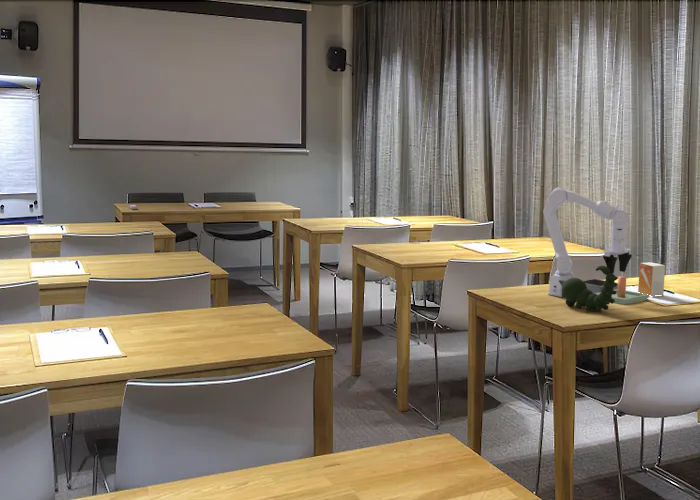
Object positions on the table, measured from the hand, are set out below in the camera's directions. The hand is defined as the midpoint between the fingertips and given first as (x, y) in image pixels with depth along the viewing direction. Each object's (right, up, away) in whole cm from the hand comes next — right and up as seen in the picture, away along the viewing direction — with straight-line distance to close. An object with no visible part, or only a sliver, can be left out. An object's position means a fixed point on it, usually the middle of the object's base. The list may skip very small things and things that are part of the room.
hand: (616, 272), depth 294 cm
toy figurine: (-19, -14, -18) cm, 29 cm away
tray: (+1, -11, -1) cm, 11 cm away
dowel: (+1, -10, -2) cm, 10 cm away
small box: (+16, -10, +7) cm, 20 cm away
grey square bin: (-3, -8, +15) cm, 17 cm away
